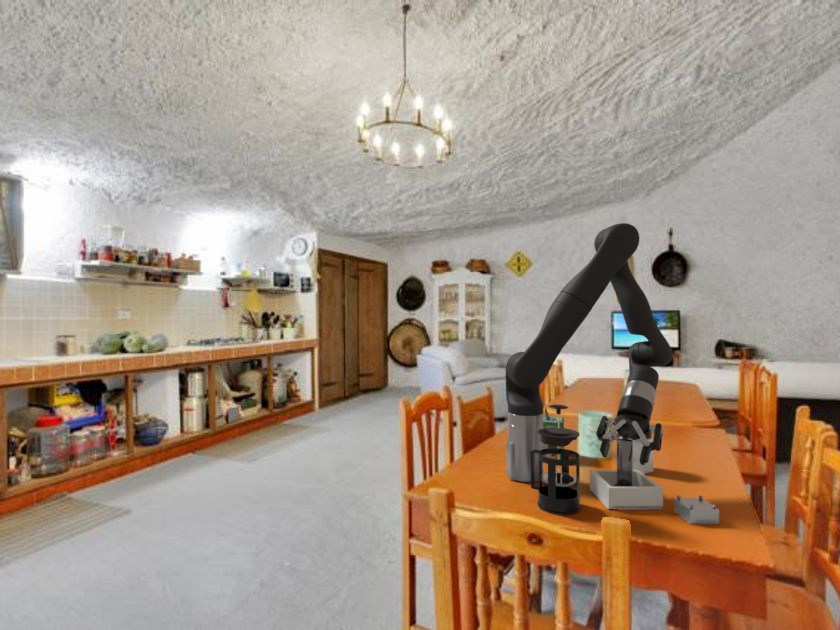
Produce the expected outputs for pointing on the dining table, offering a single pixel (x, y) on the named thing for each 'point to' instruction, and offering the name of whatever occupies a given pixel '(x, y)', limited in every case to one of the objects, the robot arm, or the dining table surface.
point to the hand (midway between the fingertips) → (622, 459)
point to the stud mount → (696, 510)
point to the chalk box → (552, 423)
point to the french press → (558, 489)
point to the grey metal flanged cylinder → (624, 462)
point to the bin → (626, 491)
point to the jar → (637, 452)
